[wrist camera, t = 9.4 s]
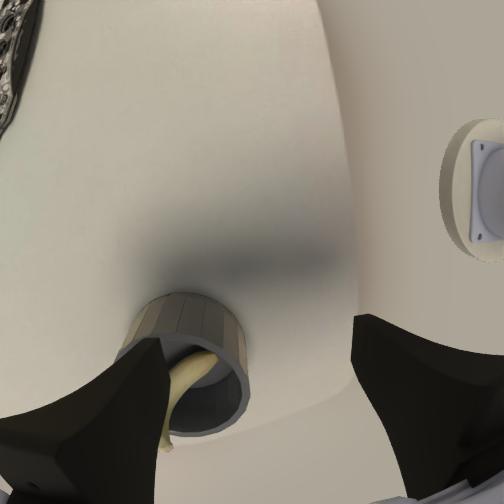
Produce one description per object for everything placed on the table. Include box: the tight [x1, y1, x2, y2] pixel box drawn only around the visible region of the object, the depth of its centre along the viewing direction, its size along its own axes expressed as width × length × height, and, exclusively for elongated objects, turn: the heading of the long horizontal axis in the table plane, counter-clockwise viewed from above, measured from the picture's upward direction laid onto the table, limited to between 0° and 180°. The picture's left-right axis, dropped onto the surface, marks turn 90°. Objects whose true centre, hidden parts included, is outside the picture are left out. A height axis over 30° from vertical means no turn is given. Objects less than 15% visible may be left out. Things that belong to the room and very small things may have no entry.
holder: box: [113, 293, 250, 437], centre depth 20 cm, size 8×8×6 cm
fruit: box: [158, 350, 219, 452], centre depth 18 cm, size 4×8×2 cm
